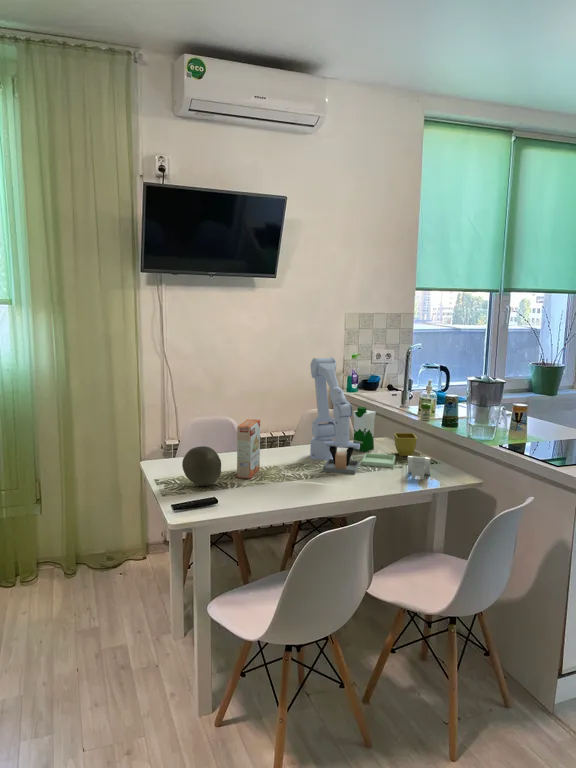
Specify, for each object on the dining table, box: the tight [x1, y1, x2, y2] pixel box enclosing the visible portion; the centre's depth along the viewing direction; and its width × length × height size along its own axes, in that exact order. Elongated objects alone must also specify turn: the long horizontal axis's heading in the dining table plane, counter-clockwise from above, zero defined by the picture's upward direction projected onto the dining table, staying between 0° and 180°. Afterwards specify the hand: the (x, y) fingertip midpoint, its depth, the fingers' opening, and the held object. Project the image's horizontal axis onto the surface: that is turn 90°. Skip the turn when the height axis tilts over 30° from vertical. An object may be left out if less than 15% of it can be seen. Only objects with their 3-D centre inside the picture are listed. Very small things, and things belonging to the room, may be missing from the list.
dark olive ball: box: [182, 445, 222, 487], centre depth 215 cm, size 14×14×15 cm
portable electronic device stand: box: [407, 455, 431, 480], centre depth 229 cm, size 9×8×8 cm
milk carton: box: [352, 406, 377, 453], centre depth 266 cm, size 9×9×20 cm
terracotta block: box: [335, 451, 348, 469], centre depth 236 cm, size 4×4×6 cm
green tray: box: [361, 452, 396, 470], centre depth 246 cm, size 13×13×2 cm
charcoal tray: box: [322, 458, 360, 475], centre depth 237 cm, size 13×13×2 cm
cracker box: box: [236, 418, 261, 479], centre depth 230 cm, size 14×6×21 cm, turn 167°
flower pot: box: [393, 432, 418, 457], centre depth 258 cm, size 9×9×9 cm
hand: (341, 464), depth 237 cm, fingers closed on terracotta block, 4 cm apart
